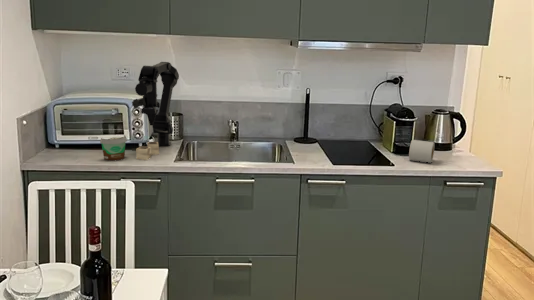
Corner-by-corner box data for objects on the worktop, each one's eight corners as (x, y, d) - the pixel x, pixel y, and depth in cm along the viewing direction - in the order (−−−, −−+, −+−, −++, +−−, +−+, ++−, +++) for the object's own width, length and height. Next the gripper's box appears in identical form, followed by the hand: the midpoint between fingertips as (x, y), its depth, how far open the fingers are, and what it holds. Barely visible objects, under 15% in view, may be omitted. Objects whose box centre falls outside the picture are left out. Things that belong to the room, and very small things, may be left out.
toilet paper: (432, 160, 253) (435, 140, 251) (429, 165, 244) (432, 144, 242) (411, 157, 257) (413, 137, 255) (408, 162, 248) (410, 141, 246)
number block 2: (147, 152, 251) (147, 141, 250) (158, 151, 252) (158, 141, 251) (148, 155, 246) (147, 144, 245) (158, 154, 247) (158, 143, 246)
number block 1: (141, 156, 243) (140, 145, 242) (151, 157, 242) (151, 146, 241) (136, 159, 238) (136, 148, 237) (147, 160, 237) (146, 149, 236)
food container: (106, 162, 231) (105, 140, 229) (100, 159, 236) (99, 138, 233) (132, 158, 239) (131, 137, 236) (126, 155, 243) (125, 134, 241)
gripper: (136, 89, 253) (137, 121, 257) (129, 95, 235) (130, 129, 239) (159, 90, 254) (160, 121, 258) (154, 95, 236) (155, 129, 240)
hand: (151, 125), depth 249 cm, fingers closed
